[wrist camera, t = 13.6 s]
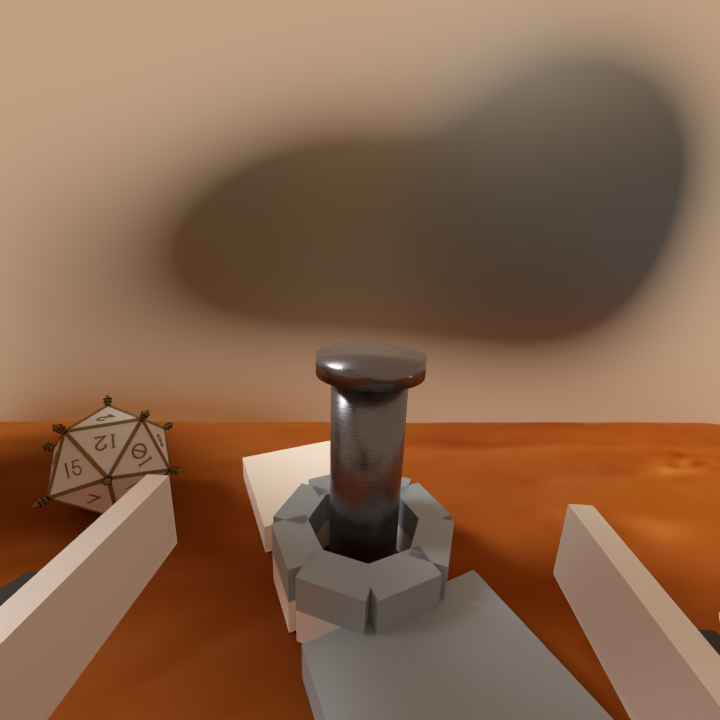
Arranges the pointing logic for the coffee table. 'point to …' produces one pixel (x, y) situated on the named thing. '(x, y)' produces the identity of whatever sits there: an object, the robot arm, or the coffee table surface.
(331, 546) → the pin
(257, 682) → the coffee table surface
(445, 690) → the hinge leaf
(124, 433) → the game die
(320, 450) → the hinge leaf
